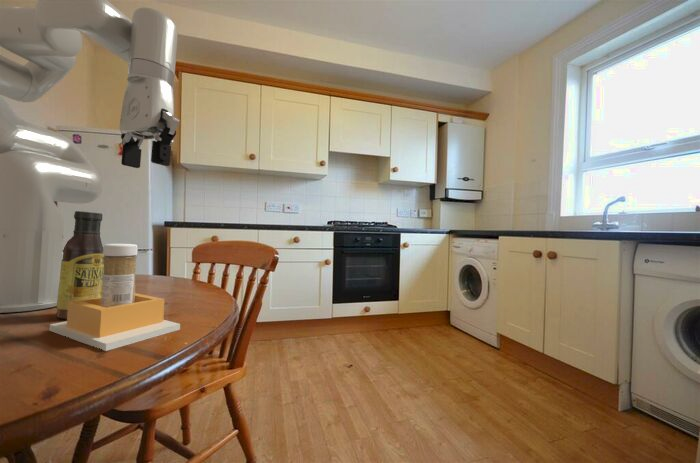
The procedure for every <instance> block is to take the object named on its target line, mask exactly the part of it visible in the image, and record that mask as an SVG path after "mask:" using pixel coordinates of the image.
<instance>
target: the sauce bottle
mask: <svg viewBox="0 0 700 463" xmlns="http://www.w3.org/2000/svg"><path fill="white" fill-rule="evenodd" d="M73 218H74V220H75V221H74V230H73V234H72V235H73V236H72V237H71V238H70V239H68V241H66V244H65V245H64V247H63V249H62V261H61V271H60V281H59V289H58V299H57V306H56V309H57V311H56V317H57V319H63V320H67V314H68V302H69V301H76V300H83V299H90V298H97V297H102V282H103V272H104V255H103V247H104V245H103V243H102V238H101V222H102V221H103V214H102V213H100V212H96V211H94V212H93V211H79V210H76V211H74V215H73Z"/></svg>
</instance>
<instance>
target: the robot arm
mask: <svg viewBox="0 0 700 463" xmlns="http://www.w3.org/2000/svg"><path fill="white" fill-rule="evenodd" d="M178 33H179V32H178V27H177V26H176V24H175V23H174V20H172V19H171V18H170V17H169V16H168V15H166V14H164V13H163V12H161V11H159V10H157V9H154V8H151V7H138V8H136V9H135V10H134V12H133V13H132V18H131V19H130V18H129V17H128V16H127V15H125V14H124V13H123V12H122V11H121V10H120V9H119V8H118V7H116V6H115V5H113V4H112V3H111V2H110V1H109V0H37V2H36V4H35V6H34V7H29V6H28V7H27V6H26V7H25V6H24V7H23V6H0V47H1V48H2V49H4V50H6V51H9V52H10V53H12V54H14V55H16V56H18V57H20V58H22V59H24V60H26V61H28V62H26V63H25V64H24V65H23V64H20V63H18V62H17V61H14V60H12V59H10V58H8V57H6V56H4V55H2V54H0V95H1V96H3V97H6V98H8V99H12V100H14V101H17V102H22V103H33V102H35V101H37V100H39V99H41V98H42V97H43V96H45V94H46V93H48V92H49V91H50V90H51V89H53V88H54V86H57V84H58V83H59V82H60V81H62V80H63V79H64V78H65V77H66V76H67V75H68V74H70V73H71V71H72V70H73V69H74V67H75V65H76V61H77V55H79V54H80V53H81V52H82V50H83V38H82V34H84V35H85V36H87V37H88V38H90V39H91V40H93V41H94V42H96V43H97V44H99V45H100V46H101V47H103V48H104V49H106V50H107V51H109V52H111V53H112V54H113V55H115V56H116V57H118V58H119V59H121V60H122V61H124V62H125V63H128V68H127V78H126V79H127V82H128V83H127V85H126V88H125V92H124V95H123V101H122V106H121V111H120V112H121V113H120V120H119V131H120V133H121V135H120V138H121V145H122V151H121V165H122V166H124V167H125V166H126V167H131V168H135V169H140V168H141V160H142V149H141V148H140V147H141V145H142V143H143V142H144V140H152V143H151V154H150V162H151V164H157V165H159V166H160V165H161V166H164V167H170V166H171V153H172V146H173V145H174V138H175V136H176V135H177V130H178V127H179V124H180V119H179V118H177V117H176V116H175V98H174V88H175V73H176V62H177V49H178V48H177V47H178ZM1 96H0V314H1V313H3V314H4V313H6V314H7V313H20V312H31V311H38V310H44V309H50V308H51V309H52V308H56V307H57V299H58V289H59V281H60V271H61V261H62V259H63V248H64V247H63V246H64V229H65V228H64V226H65V225H64V224H65V222H64V217H63V214H62V213H61V211H60V209H59V207H58V206H57V204H56V203H55V202H58V203H59V202H60V203H67V204H68V203H69V204H78V205H79V204H81V205H82V204H90V203H92V202H94V201H96V200H97V199H98V198H99V197H100V196H101V194H102V192H103V182H102V178H101V175H100V174H99V172H98V171H97V169H96V168H95V167H94V166H93V164H92V163H91V162H90V160H89V159H88V158H87V157H86V155H85V154H84V153H83V151H81V149H80V148H79V146H77V145H76V143H75V142H74V141H73V140H71V139H70V138H69V137H67V136H65V135H63V134H61V133H59V132H57V131H54V130H51V129H48V128H45V127H42V126H39V125H36V124H33V123H30V122H28V121H25V120H24V119H22V118H21V117H20V116H19V115H18V114H17V113H16V111H14V109H13V108H12V107H11V105H10V104H9V103H8V102H7V101H6V100H5V99H3V97H1Z"/></svg>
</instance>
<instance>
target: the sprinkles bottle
mask: <svg viewBox="0 0 700 463" xmlns="http://www.w3.org/2000/svg"><path fill="white" fill-rule="evenodd" d="M138 251H139V250H138V245H137V244H133V243H105V244H104V245H103V255H104V272H103V282H102V298H101V306H102V307H106V308H107V307H112V306H118V305H124V304H130V303H134V298H135V293H136V265H137V264H136V263H137V255H138Z"/></svg>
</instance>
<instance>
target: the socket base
mask: <svg viewBox="0 0 700 463" xmlns="http://www.w3.org/2000/svg"><path fill="white" fill-rule="evenodd" d="M101 298H102V297H97V298H90V299H83V300H76V301H69V302H68V314H67V319H66V321H61V322H56V323H52V324H51V323H50V324H49V332H52V333H54V334H58V335H60V336H63V337H65V336H66V338H68V337H69V338H68V339H71V340H74V341H77V342H80V343H83V344H85V345H88V346H90V347H93V346H94V347H93V348H96V347H97V348H96V349H99V348H100V349H99V350H101V349H102V350H101V351H104V352H107V351H111V350H115V349H118V348H121V347H125V346H129V345H132V344H135V343H138V342H142V341H145V340H149V339H153V338H156V337H158V336H159V337H160V336H162V335H166V334H170V333H173V332H176V331H180V330H181V324H180V323H178V322H175V321H171V320H166V319H164V316H165V313H164V312H165V301H166V300H165V298H160V297H157V296H152V295H151V296H150V295H146V294H141V293H137V292H135V298H134V303H130V304H124V305H118V306H112V307H107V308H106V307H102V306H101Z"/></svg>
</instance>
